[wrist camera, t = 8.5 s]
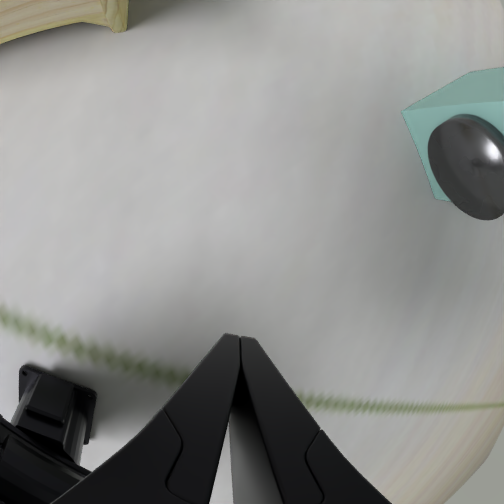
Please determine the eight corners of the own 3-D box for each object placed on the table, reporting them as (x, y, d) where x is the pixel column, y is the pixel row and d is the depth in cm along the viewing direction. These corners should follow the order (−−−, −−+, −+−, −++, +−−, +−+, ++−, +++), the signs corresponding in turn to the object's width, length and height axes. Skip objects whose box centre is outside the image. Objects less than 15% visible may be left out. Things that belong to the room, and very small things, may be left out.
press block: (435, 198, 24) (536, 221, 15) (401, 111, 22) (511, 100, 12) (495, 143, 25) (577, 151, 15) (470, 72, 22) (555, 62, 13)
